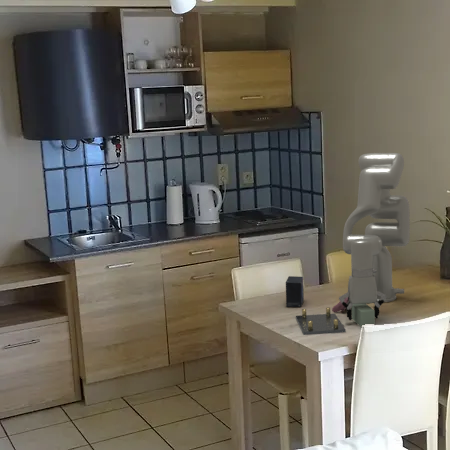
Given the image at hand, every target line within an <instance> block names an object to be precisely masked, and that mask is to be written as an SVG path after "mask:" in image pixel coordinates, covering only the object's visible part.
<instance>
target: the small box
mask: <svg viewBox="0 0 450 450" xmlns="http://www.w3.org/2000/svg"><path fill="white" fill-rule="evenodd" d="M304 289H305V288H304V276H297V275H296V276H291V275H289V276H288V277H287V278H286V281H285V308H301V307H302V305H303V303H304V302H305V301H304V299H305V297H304Z"/></svg>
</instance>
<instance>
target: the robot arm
mask: <svg viewBox="0 0 450 450" xmlns="http://www.w3.org/2000/svg"><path fill="white" fill-rule="evenodd" d="M358 167H359V169H360V172H359V176H358V177H359V178H358V179H359V180H358V192H357V204H356V208H355V209H354V210H353V211H352V212H351V213H350V215H348V218H347V219H346V221H345V223H344V227H343V233H342V249H343V251H344V253H345V254H347V255H350V258H351V275H349V278H348V284H347V292H346V293H344V294H342V295H340V296H339V297H338V300H339V302H340V301H341V303H342V305H343V306H344V307H345V308H347V309H346V318H348V320H349V321H353V319H352V306H353V304H367V305H368V304H374V305H373V310H375V319H379V316H380V308H381V306H382V305H383V304H384V303H389V302H390V303H391V302H393V301H395V300H397V295H398V294H400V295H402V294H405V288H400V287H399V288H394V286H393V258H392V254H391V252H390V251H389V249H388V248H387V247H405V246H407V245H408V244H409V242H410V238H411V237H410V236H411V227H410V225H411V224H410V222H411V221H410V220H411V219H410V201H409V199H408V198H407V197H406V196H405V195H401V194H391V191H390V190H395V189H396V188H397V187H398V186H399V183H400V181H401V177H402V174H403V171H404V168H405V158H404V157H403V155H402V154H401V153H399V152H370V153H363V154H361V155H360V156H359V157H358ZM368 216H370V217H371V218H372V219H376V220H377V219H378V220H396V222H393V221H391V222H390V221H375V222H373V221H372V222H371V223H369V224H367V225H366V227H365V229H364V234H356V233H355V234H353V229H354V226H355V225H356V224H357V222H358V221H360V220H362V219H364V218H366V217H368ZM347 297H348V300H349V302H348V303H347V304H346V303H345V302H344V299H345V298H347Z"/></svg>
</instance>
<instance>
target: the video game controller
mask: <svg viewBox="0 0 450 450" xmlns="http://www.w3.org/2000/svg"><path fill="white" fill-rule="evenodd" d="M344 302H345V303H346V304H347V303H348V302H349V300H348V297H347V298H345V299H344ZM331 310H332V313H338V312H340V311H341V312H344V311H346V310H347V308H345V307H344V306H343V305H342V303H341V301H340V300H339V302H337V304H335V305H334V306H333V307H332V309H331Z"/></svg>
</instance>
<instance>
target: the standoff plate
mask: <svg viewBox="0 0 450 450" xmlns="http://www.w3.org/2000/svg"><path fill="white" fill-rule="evenodd" d="M295 320H296V322H297V325H298V326H299V328H300V330H301V333H302V335H303V336H304V335H305V336H306V335H321V334H336V333H337V334H339V333H346V327H345V326H344V325H343V324H342V322H341V320H340V319H339V318H338V316H337V314H336V312H333V313H331V307H327V306H326V307H325V313H322V314H319V313H318V314H307V308H302V309H301V315H295Z"/></svg>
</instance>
